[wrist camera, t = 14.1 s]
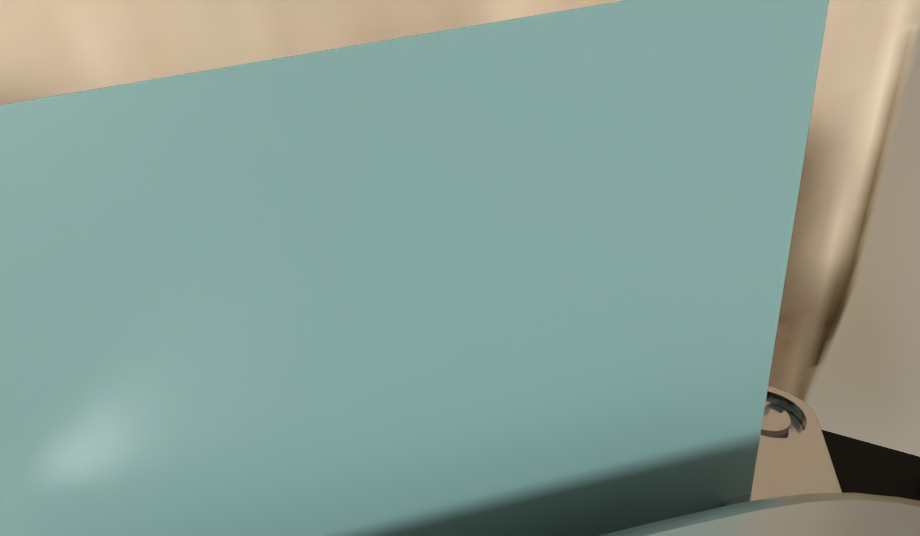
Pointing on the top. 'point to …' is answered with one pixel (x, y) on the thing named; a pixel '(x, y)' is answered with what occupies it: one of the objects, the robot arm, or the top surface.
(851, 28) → the top surface
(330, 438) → the teal rectangular block
